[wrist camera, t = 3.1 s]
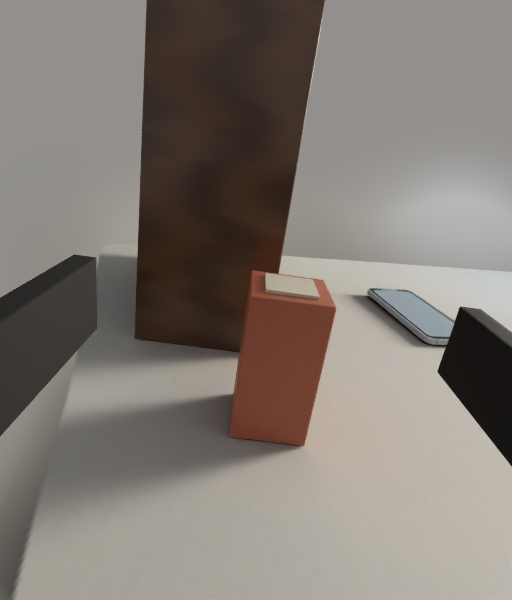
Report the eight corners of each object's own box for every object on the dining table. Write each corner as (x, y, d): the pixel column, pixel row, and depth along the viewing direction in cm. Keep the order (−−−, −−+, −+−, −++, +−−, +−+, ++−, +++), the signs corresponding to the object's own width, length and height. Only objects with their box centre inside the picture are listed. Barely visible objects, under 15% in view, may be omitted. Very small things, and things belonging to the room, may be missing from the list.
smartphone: (428, 339, 44) (365, 287, 57) (426, 347, 44) (363, 293, 57) (483, 340, 46) (409, 289, 59) (480, 347, 46) (407, 295, 59)
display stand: (134, 338, 36) (147, -40, 26) (184, 260, 61) (201, 48, 50) (264, 355, 37) (327, -9, 27) (262, 271, 61) (294, 63, 51)
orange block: (229, 437, 26) (250, 292, 22) (233, 393, 31) (251, 266, 27) (304, 446, 26) (337, 304, 23) (297, 400, 31) (324, 277, 27)
